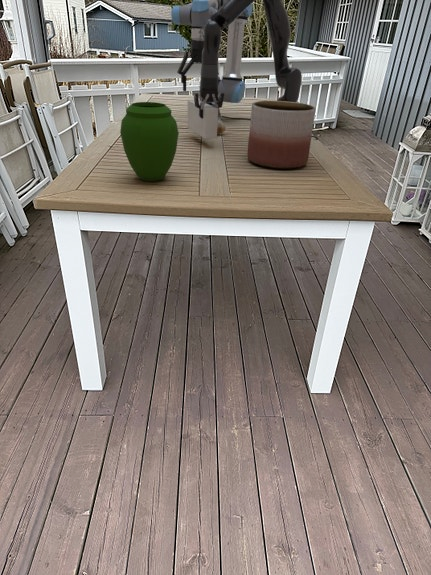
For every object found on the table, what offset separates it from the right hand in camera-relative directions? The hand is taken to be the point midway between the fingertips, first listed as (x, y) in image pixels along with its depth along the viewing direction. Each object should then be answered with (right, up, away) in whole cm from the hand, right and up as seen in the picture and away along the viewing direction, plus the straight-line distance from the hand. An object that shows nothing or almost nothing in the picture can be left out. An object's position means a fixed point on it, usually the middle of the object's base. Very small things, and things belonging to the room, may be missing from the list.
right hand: (208, 117), depth 184 cm
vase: (-20, -38, -38) cm, 57 cm away
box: (-3, -3, +11) cm, 11 cm away
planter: (+29, -24, -12) cm, 39 cm away
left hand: (-5, +19, +14) cm, 24 cm away
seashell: (+4, +3, +29) cm, 30 cm away
